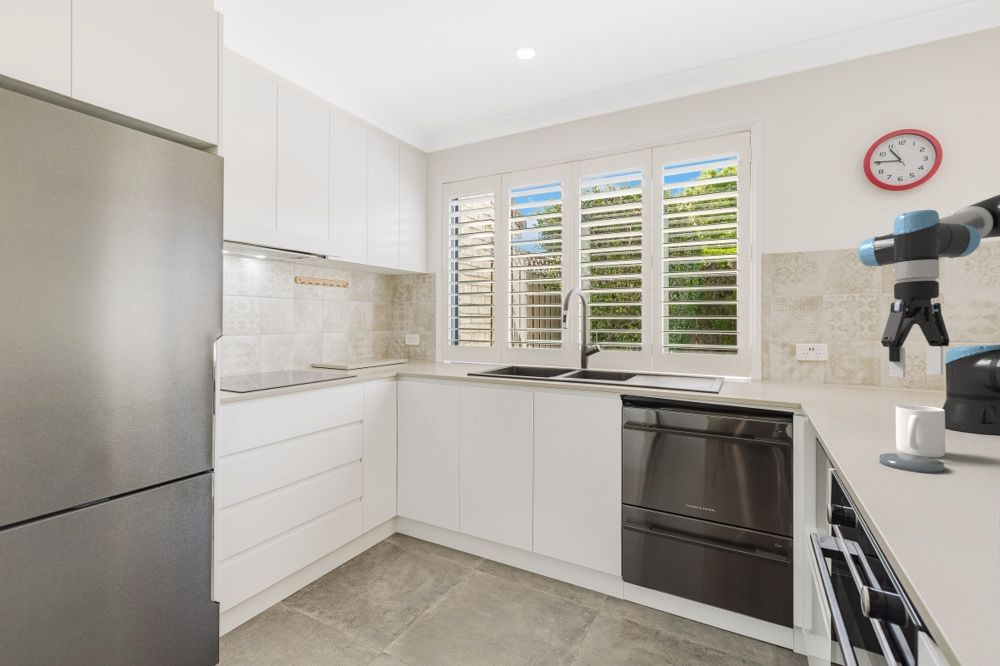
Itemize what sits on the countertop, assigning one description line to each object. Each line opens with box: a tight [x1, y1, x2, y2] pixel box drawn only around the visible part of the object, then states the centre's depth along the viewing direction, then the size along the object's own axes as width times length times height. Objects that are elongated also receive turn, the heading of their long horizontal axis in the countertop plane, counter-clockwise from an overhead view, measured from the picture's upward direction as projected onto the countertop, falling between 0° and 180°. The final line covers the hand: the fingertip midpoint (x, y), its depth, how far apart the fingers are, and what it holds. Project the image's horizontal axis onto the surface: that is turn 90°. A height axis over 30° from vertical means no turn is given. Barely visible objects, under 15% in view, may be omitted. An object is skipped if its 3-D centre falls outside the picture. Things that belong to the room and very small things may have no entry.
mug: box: [895, 404, 946, 459], centre depth 104 cm, size 12×8×10 cm
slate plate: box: [879, 452, 945, 474], centre depth 96 cm, size 10×10×1 cm
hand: (916, 375), depth 103 cm, fingers open, 13 cm apart
